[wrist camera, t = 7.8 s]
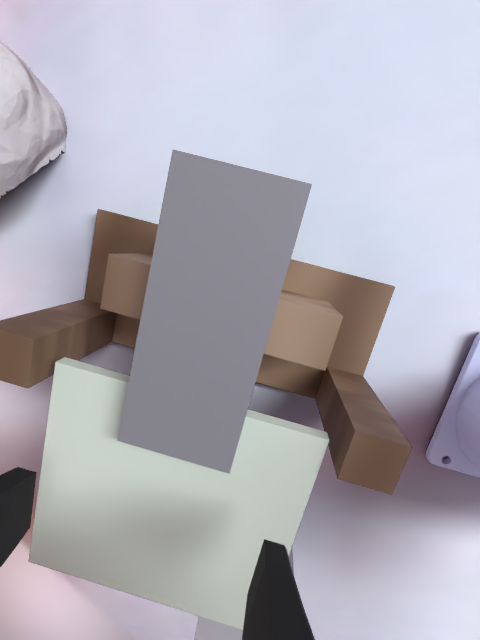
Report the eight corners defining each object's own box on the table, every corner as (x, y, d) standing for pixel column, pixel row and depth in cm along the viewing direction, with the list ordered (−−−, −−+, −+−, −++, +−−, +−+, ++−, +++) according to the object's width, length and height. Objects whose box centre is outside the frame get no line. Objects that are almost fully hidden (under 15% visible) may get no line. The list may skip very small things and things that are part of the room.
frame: (389, 285, 18) (469, 309, 10) (347, 402, 19) (392, 494, 12) (105, 210, 19) (-6, 185, 11) (86, 329, 20) (-21, 374, 13)
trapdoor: (390, 219, 12) (420, 210, 10) (262, 594, 17) (259, 656, 14) (111, 149, 13) (72, 124, 10) (53, 529, 17) (15, 578, 15)
